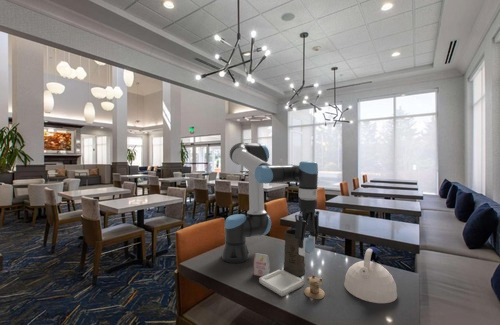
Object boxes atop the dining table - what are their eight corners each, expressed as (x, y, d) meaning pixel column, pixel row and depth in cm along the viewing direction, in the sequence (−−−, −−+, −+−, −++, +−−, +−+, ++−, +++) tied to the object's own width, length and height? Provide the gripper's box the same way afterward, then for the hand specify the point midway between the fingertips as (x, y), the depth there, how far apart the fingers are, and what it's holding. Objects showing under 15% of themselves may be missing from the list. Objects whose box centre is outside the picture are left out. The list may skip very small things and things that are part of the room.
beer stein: (305, 277, 114) (306, 234, 115) (282, 275, 116) (283, 233, 117) (304, 265, 129) (305, 227, 130) (284, 263, 131) (285, 226, 132)
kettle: (337, 291, 103) (337, 249, 102) (352, 273, 119) (353, 236, 118) (391, 311, 90) (392, 262, 89) (401, 288, 106) (402, 246, 105)
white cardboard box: (256, 271, 120) (256, 251, 120) (269, 274, 117) (269, 253, 117) (253, 274, 117) (253, 254, 117) (266, 277, 114) (266, 256, 114)
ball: (296, 251, 103) (297, 237, 103) (305, 248, 107) (305, 234, 107) (308, 256, 98) (308, 241, 98) (317, 252, 102) (317, 238, 102)
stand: (305, 298, 97) (306, 282, 97) (303, 287, 105) (303, 272, 105) (326, 299, 97) (326, 283, 96) (322, 288, 105) (322, 273, 104)
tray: (259, 282, 110) (259, 277, 110) (280, 273, 118) (280, 268, 118) (282, 296, 99) (282, 291, 99) (303, 285, 108) (303, 280, 108)
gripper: (300, 202, 93) (299, 262, 94) (328, 197, 105) (327, 250, 106) (285, 199, 99) (285, 256, 99) (313, 194, 111) (312, 245, 112)
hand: (306, 252), depth 103 cm, fingers closed on ball, 6 cm apart
